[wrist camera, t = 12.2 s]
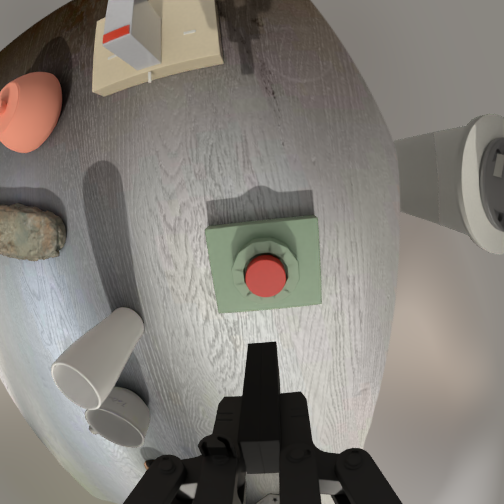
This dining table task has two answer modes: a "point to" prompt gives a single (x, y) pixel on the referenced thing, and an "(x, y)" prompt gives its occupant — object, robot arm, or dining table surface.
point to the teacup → (120, 418)
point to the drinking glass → (98, 359)
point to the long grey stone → (30, 233)
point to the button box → (265, 243)
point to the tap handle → (133, 32)
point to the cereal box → (270, 499)
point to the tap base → (164, 46)
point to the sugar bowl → (29, 111)
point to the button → (265, 276)
